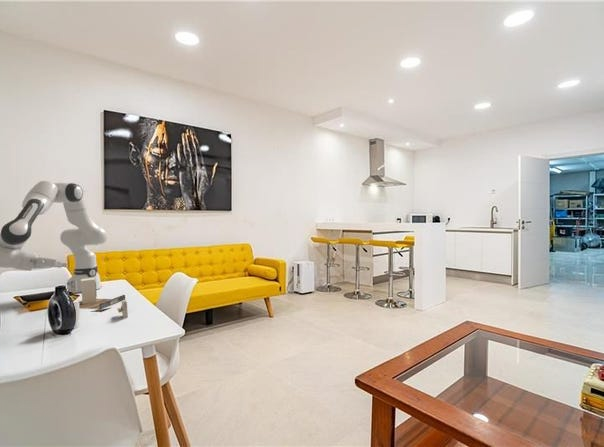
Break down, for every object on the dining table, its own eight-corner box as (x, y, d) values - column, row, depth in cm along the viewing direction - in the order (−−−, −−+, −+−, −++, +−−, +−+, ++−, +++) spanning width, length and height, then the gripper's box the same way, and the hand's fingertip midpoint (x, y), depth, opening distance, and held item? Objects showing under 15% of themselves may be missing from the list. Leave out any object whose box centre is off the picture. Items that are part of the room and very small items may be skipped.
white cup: (85, 324, 136) (83, 301, 136) (70, 331, 128) (68, 307, 128) (68, 324, 137) (67, 301, 137) (52, 331, 129) (50, 307, 129)
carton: (82, 304, 162) (81, 281, 161) (82, 301, 167) (81, 279, 166) (97, 301, 165) (95, 279, 165) (96, 299, 170) (95, 277, 170)
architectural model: (119, 320, 142) (118, 304, 142) (117, 316, 148) (116, 300, 147) (127, 318, 144) (127, 302, 144) (125, 314, 150) (125, 299, 149)
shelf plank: (61, 310, 157) (60, 302, 157) (88, 301, 173) (88, 293, 172) (102, 312, 153) (101, 303, 153) (125, 302, 168) (125, 294, 168)
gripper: (35, 252, 142) (71, 258, 152) (27, 255, 156) (61, 260, 165) (30, 266, 140) (67, 271, 150) (23, 268, 154) (57, 272, 164)
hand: (64, 265), depth 158 cm, fingers open, 8 cm apart
